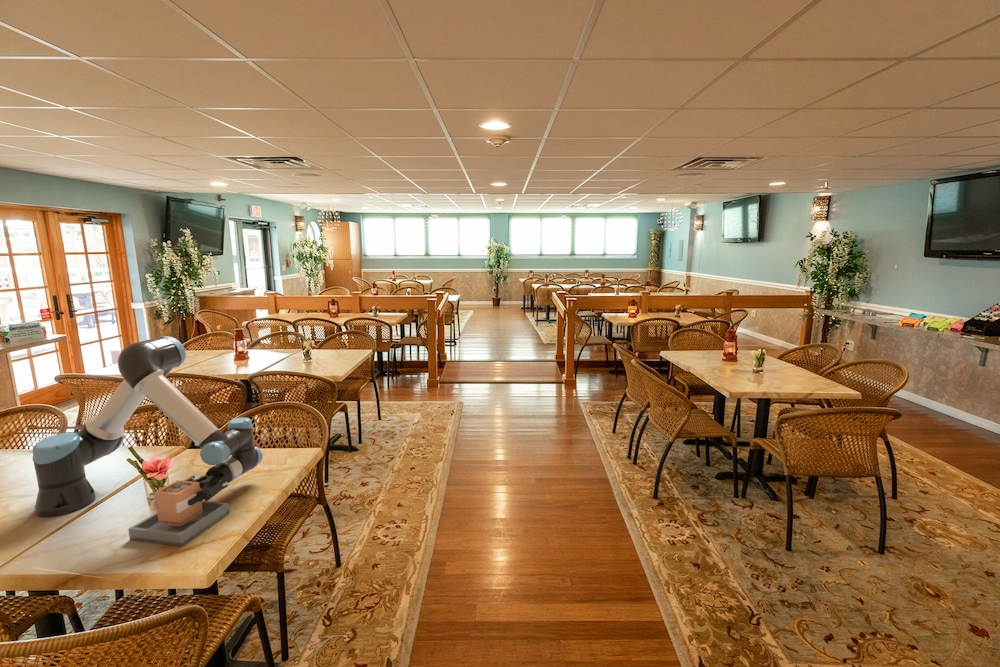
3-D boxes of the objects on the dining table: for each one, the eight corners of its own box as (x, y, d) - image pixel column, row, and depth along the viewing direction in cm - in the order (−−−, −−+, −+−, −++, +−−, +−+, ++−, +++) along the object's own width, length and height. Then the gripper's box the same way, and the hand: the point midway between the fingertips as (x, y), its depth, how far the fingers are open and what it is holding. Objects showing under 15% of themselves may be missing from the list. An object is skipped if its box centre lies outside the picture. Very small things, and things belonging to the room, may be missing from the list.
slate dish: (130, 539, 139) (128, 528, 138) (182, 508, 156) (180, 498, 156) (182, 546, 135) (180, 535, 135) (229, 513, 153) (228, 503, 152)
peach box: (158, 523, 142) (153, 489, 141) (181, 509, 150) (176, 477, 148) (181, 526, 141) (176, 491, 139) (202, 512, 148) (198, 479, 147)
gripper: (251, 485, 160) (196, 522, 138) (199, 481, 164) (137, 515, 142) (249, 464, 159) (193, 498, 137) (196, 460, 163) (133, 492, 141)
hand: (164, 507), depth 140 cm, fingers closed on peach box, 8 cm apart
